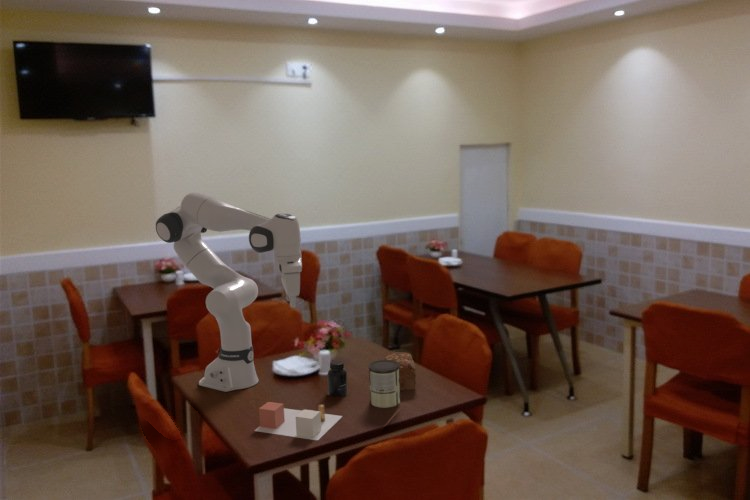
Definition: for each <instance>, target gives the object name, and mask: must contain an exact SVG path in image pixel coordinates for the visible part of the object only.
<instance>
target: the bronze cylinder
mask: <svg viewBox="0 0 750 500" xmlns="http://www.w3.org/2000/svg"><path fill="white" fill-rule="evenodd" d="M317 411H320V415H321V422H324V421H325V414H326V413H325V411H326V410H325V404H322V403H321V404H318V405H317Z"/></svg>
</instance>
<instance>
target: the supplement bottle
mask: <svg viewBox="0 0 750 500" xmlns="http://www.w3.org/2000/svg"><path fill="white" fill-rule="evenodd" d="M327 395H328V396H332V397H344V398H345V397H346V396H347V395H348V372H347V370H346V369H345V364H344V361H342V360H332V361H331V362H329V369H328V371H327Z"/></svg>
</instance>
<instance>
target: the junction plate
mask: <svg viewBox="0 0 750 500" xmlns="http://www.w3.org/2000/svg"><path fill="white" fill-rule="evenodd" d="M302 411H303V410H300V409H291V408H285V407H284V419H285V422H283V423H282V424H281V425H280V426H279V427H277V428H276V429H273V428H267V427H260V426H258V427H257V428H256V429H254V432H257V433H258V432H260V433H266V434H273V435H279V436H286V437H292V438H297V439H298V438H300V439H304V440H305V439H306V440H312V441H319V440H320V439H321V438H323V437H324V435H325V434H327V432H328V431H329V430H331V428H332V427H334V426H335V424H337V422H338V421H339V420H341V419H342V418H343V415H336V414H330V413H329V414H328V413H325V421H324V422H321V431H320V432H318V433H317V434H316V435H315V436H314V437H313V438H312V437H305V436H299V435H297V434H296V416H297V415H298V414H299V413H300V412H302Z"/></svg>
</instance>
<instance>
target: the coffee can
mask: <svg viewBox="0 0 750 500" xmlns="http://www.w3.org/2000/svg"><path fill="white" fill-rule="evenodd" d="M368 376H369V377H368V379H369V398H370V404H371V405H372V406H374V407H377V408H381V409H382V408H383V409H384V408H385V409H386V408H387V409H388V408H393V407H396V406H399V404H401V394H400V393H401V391H400V388H399V363H397V362H396V361H392V360H385V359H379V360H375V361H372V362H371V363H369V364H368Z"/></svg>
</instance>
